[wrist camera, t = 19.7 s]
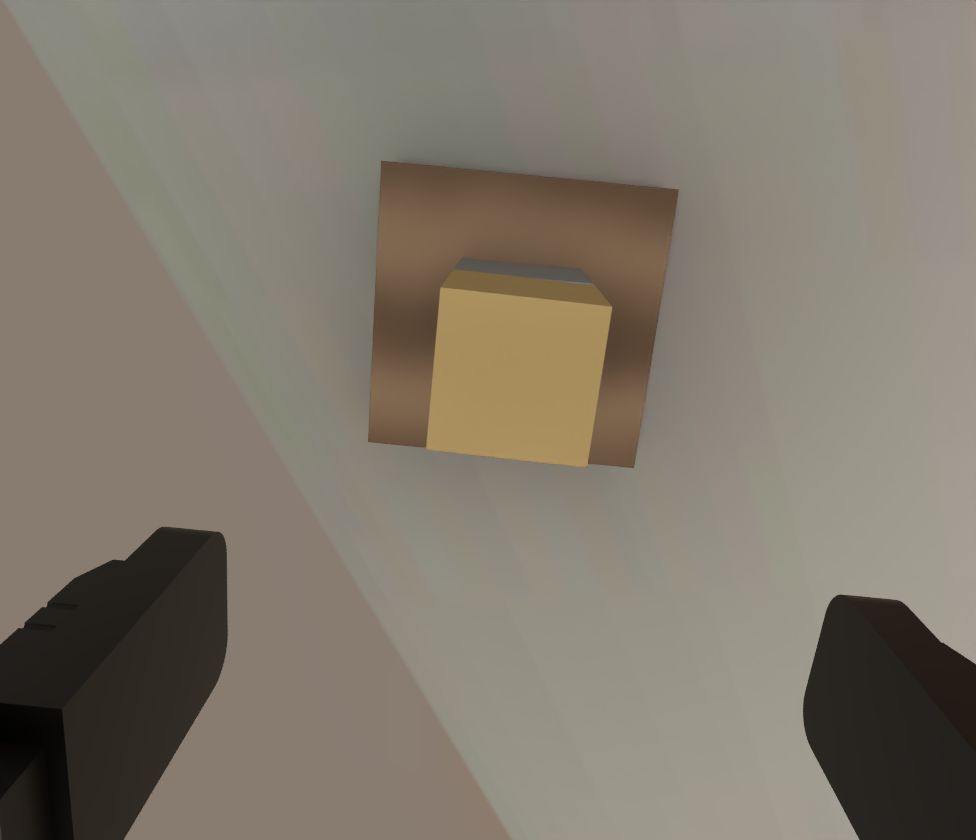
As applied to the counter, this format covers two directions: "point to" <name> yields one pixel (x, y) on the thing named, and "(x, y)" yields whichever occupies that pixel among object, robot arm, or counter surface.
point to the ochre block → (517, 367)
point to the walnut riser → (518, 239)
